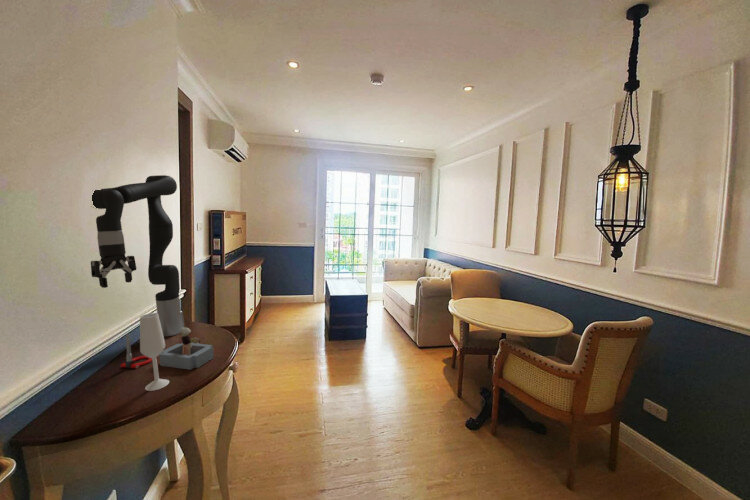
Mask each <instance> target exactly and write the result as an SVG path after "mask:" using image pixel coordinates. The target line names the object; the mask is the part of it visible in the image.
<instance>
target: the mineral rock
mask: <svg viewBox="0 0 750 500" xmlns="http://www.w3.org/2000/svg"><path fill="white" fill-rule="evenodd" d="M189 338H190V337H189ZM190 341H191V343H198V344H202V343H201V340H200V339H199V338H198V337H196V336H195V337H191V338H190Z"/></svg>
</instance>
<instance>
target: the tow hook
mask: <svg viewBox="0 0 750 500" xmlns="http://www.w3.org/2000/svg"><path fill="white" fill-rule="evenodd" d="M125 337H126V339H125V344H126V345H125V346H126V355H125V356H126V361H125V362H124V363H121V365H120V367H121V368H126V369H139V367H141V366H144V365H147V364H149V363H152V358H149V357H147V356H144V355H141V356H136V357H134V358H133V354H132V347H131V345H132V344H131V339H130V334H129V333H126V335H125ZM145 359H146V360H145ZM139 360H145V361H142V362H136V361H139ZM135 362H136V363H135Z"/></svg>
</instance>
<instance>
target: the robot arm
mask: <svg viewBox="0 0 750 500" xmlns="http://www.w3.org/2000/svg"><path fill="white" fill-rule="evenodd" d="M100 189H101V190H97V189H95V191H94V193H93V195H92V201H93V205H94V206H95V207H96V208H95V209H97V208H98V210H105V211H104V213H103V214H101V215H98V216H96V219H95V222H96V230H97V237H96V238H97V245H98V253H99V257H100V260H91V261H90V271H91V272H90V273H91V277H92V278H97V279H98V281H99V286H100V287H101V288H103V289H105V288H109V287H108V286H109V284H108V278H107V275H108V274H109V273H110V272H111V271H114V270H119V269H120V270H122V271H123V272H124V280H125V283H131V282H132V281H133V275H132V273H133V272H134V271H137V263H136V260H135V259H136V258H135V256H134V255H127V256H126V253H127V251H126V244H125V238H124V234H123V228H122V220H121V219H122V215H123V211H124V207H125V206H124V205H126V204H131V203H133V202H137V201H141V200H144V199H145V200H146V201H147V212H148V236H149V257H148V259H149V260H148V267H147V268H148V269H147V270H148V271H147V274H148V281H149V283H150V284H151V285H154V286H160V285H164V289H163V290H162V291H159V292H157V293H156V294H155V297H154V298H155V305H156V313H158V316H159V320H160V324H161V328H162V332H163V337H164V338H165V337H171V336H176V335H178V334H181V328H183V327H185V321H184V313H183V311H182V309H181V303H180V302H181V301H180V286H181V285H180V271H179V269H178V267H177V266H176V265H173V264H163V258H164V253H165V252H166V250H167V248H168V247H169V246H170V244H171V242H172V241H173V238H174V228H173V227H174V226H173V221H172V220H171V218H170V217H169V215H168V214H167V212H166V211H165V210H164V208H163V205H162V196H171V195H173V194H175V193H176V191H177V189H178V185H177V182H176V180H175V179H174V177H173V176H171V175H165V174H163V175H162V174H161V175H157V174H156V175H149V176H146V179H145V182H139V183H137V182H136V183H130V184H129V183H128V184H124V185H119V186H115V187H108V188H107V187H106V188H100ZM126 262H127V263H126ZM101 265H102V267H101Z"/></svg>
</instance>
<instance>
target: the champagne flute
mask: <svg viewBox="0 0 750 500" xmlns="http://www.w3.org/2000/svg"><path fill="white" fill-rule="evenodd" d="M165 341H166V340H165V337H163V332H162V328H161V324H160V320H159V316H158V313H157V312H154V313H153V312H152V313H146V314H142V315H140V317H139V351H140V353H141V355H142V356H147V357H149V358H152V361H151V363H152V368H153V377H154V380H152V381H151V382H149V383H148V384H147V385H146V386H145V388H144V389H145V390H146V391H148V392H151V391H157V390H160V389H162V388H165V387H166V386H168V385H169V384H170V380H169V379H166V378H165V379H164V378H160V375H159V366H158V360H157V357H159V355H160V354H161V352H162V351H163V350H165V349H166V342H165Z"/></svg>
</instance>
